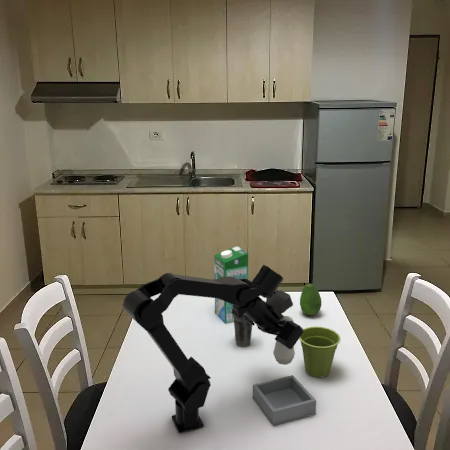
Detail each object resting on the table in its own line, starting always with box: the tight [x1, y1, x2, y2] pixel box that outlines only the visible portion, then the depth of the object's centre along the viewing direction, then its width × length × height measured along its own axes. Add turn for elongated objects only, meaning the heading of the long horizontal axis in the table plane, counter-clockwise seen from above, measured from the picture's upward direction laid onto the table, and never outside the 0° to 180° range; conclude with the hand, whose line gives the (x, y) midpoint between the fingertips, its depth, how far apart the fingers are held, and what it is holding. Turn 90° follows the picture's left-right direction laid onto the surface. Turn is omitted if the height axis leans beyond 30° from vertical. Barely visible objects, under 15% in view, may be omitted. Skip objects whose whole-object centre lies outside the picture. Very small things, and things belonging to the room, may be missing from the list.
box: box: [252, 374, 317, 427], centre depth 124 cm, size 12×12×4 cm
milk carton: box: [213, 245, 249, 324], centre depth 171 cm, size 9×9×25 cm
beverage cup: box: [233, 314, 253, 348], centre depth 153 cm, size 7×7×20 cm
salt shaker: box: [273, 315, 296, 365], centre depth 131 cm, size 6×6×13 cm
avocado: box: [299, 283, 322, 316], centre depth 173 cm, size 8×8×12 cm
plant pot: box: [298, 326, 342, 378], centre depth 138 cm, size 12×12×11 cm
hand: (288, 338), depth 132 cm, fingers closed on salt shaker, 3 cm apart
